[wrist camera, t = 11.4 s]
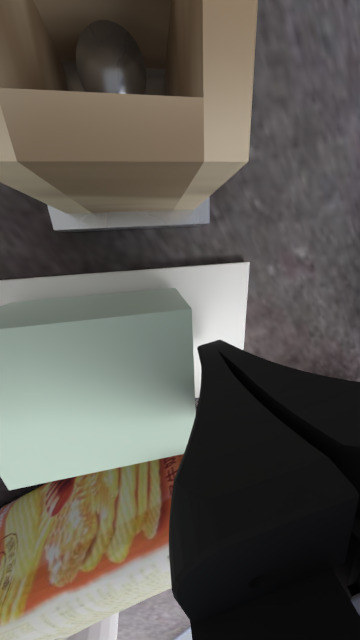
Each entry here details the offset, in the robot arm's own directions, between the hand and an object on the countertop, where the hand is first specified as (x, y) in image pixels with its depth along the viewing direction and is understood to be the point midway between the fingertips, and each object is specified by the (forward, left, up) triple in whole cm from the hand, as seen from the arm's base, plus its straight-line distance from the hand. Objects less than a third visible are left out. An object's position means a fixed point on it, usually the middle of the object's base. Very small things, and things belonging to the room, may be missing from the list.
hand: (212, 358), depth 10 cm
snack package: (+11, -9, -3) cm, 14 cm away
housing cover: (0, -5, -2) cm, 6 cm away
